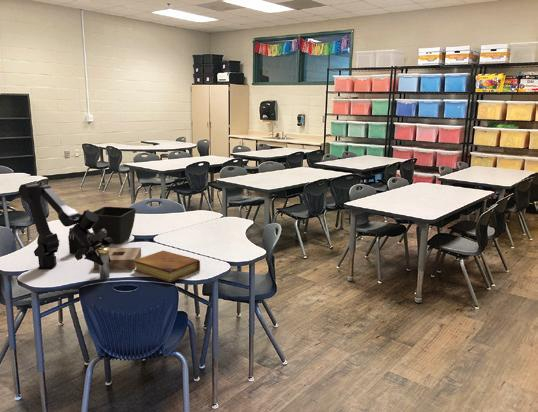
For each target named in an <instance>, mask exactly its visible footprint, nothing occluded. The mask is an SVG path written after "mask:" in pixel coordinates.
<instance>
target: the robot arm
mask: <svg viewBox="0 0 538 412" xmlns="http://www.w3.org/2000/svg"><path fill="white" fill-rule="evenodd" d="M18 193H19V195H20V197H21V199H22V201H24V202H25V203H26V204H27V205H28V207H29V211H30V214H31V216H32V220H33V221H34V226H35V228H36V231H37V234H38V236H37V240H36V243H37V247H36V248H35V249H34V251H33V254H34V256H35V257H38V259H37V260H38V267H37V270H49V269H50V270H53V269H54V268H55V267H56V266H57V265H58V263H57V256H56V254H55V253H58V252H59V251H58V250H59V246H60V242H61V241H60V239H59V237H58V234H57V233H54V232H52V231H51V228H50V226H49V224H48V220H47V217H46V215H45V214H46V213H45V212H44V209H43V206H42V203H41V198H43V199H44V200H45V201H46V202H47V203H48V204H49V206H50V207H51V208H52V209H53V210H54V211H55V212H56V213H57V217H58V220H59V222H60V223H61V224H62V226H64V227H70V226H71V227H70V228H69V231H68V236H69V235H71V234H74V235H75V236H76V237H77V238H78V240H79V241H80V242H79V244H82V245H83V246H84V247H82V248H80V249H79V250H78V251H77V252H76V253H75V254H74V258H75V259H76V261H81V260H82V259H84V260H87V261H90V262H93V263H94V262H95V263H97V264H99V265H101V266H103V265H104V264H103V262H102V260H101V259H100V258H99V256H98V253H97V248H100V247H109V248H110V245H111V243H112V242H113V240H112V238H110V237H108V238H106V235H107V234H108V233H107V231H106V230H105V229H101V230H99V233H96V234H95V233H94V232H93V231H92V232H91V231H90V230H92V227H93V226H94V225H95V223H96V222H97V221H98V219H99V218H98V216H97V214H95V213H93V212H94V211H90V210H89V209H85V210H84V211H83V213H82V214H80V213H79V211H77V210H75V209H74V208H72V207H70V206H68V205H67V204H66V203H65V202H64V201H63V200H62V199H61V198H60V197H59V196H58V194H57V193H55V191H54V190H53V189H52V186H51V185H49V184H44V183H43V184H41V183H40V184H39V183H37V182H29V183H23V184H20V186H19V188H18ZM103 238H105V239H103ZM101 239H103V240H102V241H101ZM100 241H101V243H99V242H100ZM83 255H84V256H83ZM83 257H84V258H83ZM108 257H109V254H108ZM110 261H111V260H110V257H109V262H110Z"/></svg>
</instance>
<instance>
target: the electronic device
mask: <svg viewBox="0 0 538 412" xmlns="http://www.w3.org/2000/svg"><path fill="white" fill-rule="evenodd" d="M67 238H68V251H69V254H70V255H75V253H76V252H77V251H78V250H79V249H80V248H82V247H84V246H83V245H82V244H79V242H80V241H79V240H78V238H77V237H76V236H75V235H74V234H71V235H69V234H68V237H67Z"/></svg>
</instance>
